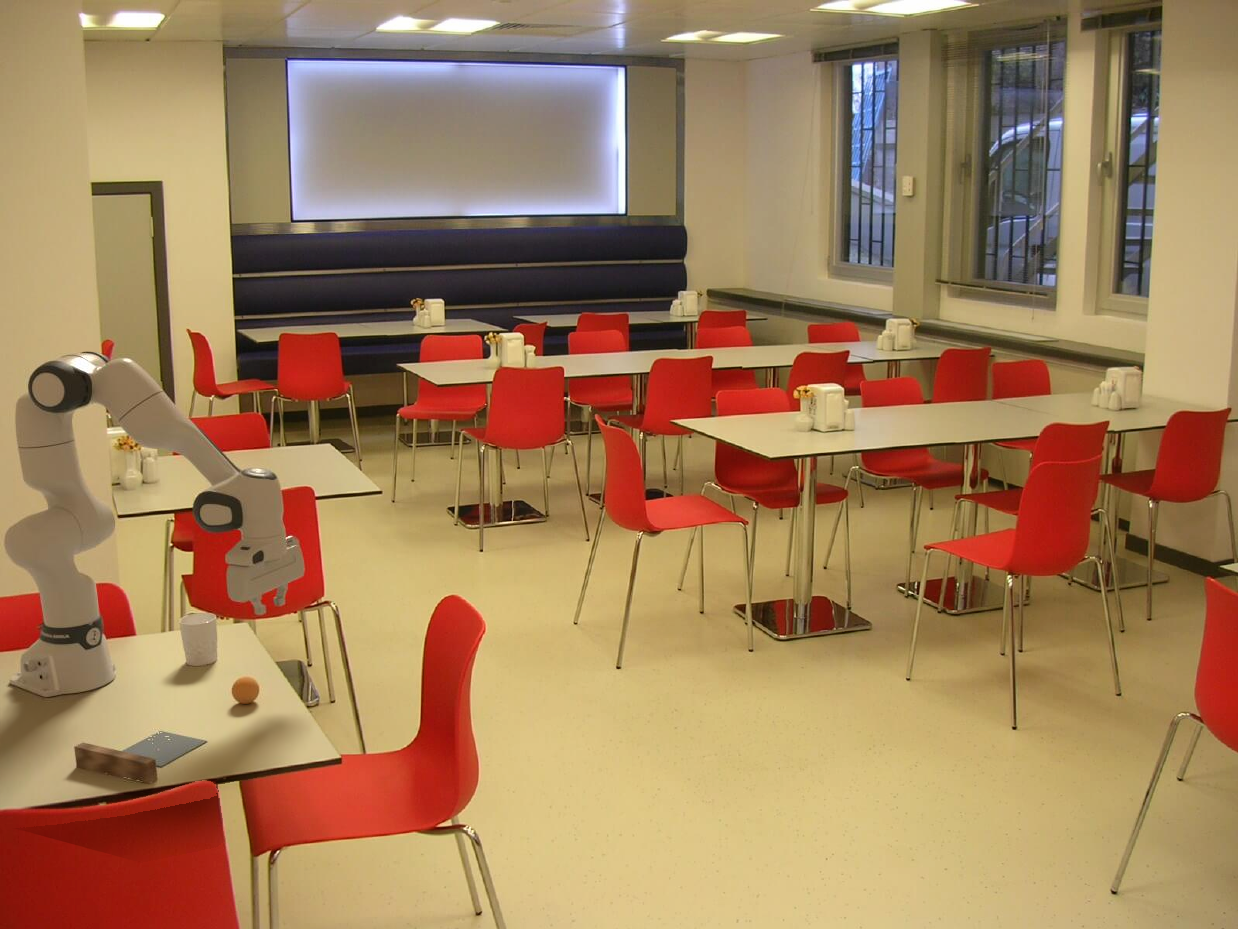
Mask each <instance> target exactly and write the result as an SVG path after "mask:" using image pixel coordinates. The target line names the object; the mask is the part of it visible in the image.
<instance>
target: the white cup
mask: <svg viewBox="0 0 1238 929" xmlns="http://www.w3.org/2000/svg"><path fill="white" fill-rule="evenodd" d="M178 622H179V630H180V636H181V642H182V647H183V651H184V657H185V662H186V664H187V665H188V666H194V667H195V666H196V667H202V666H207V664H208V665H210V664H213V663H215V662H216V661H218V626H217V615H216V614H214V613H210V612H197V613H191V614H188V615H184V616H182V617H180V618H179V621H178Z"/></svg>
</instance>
